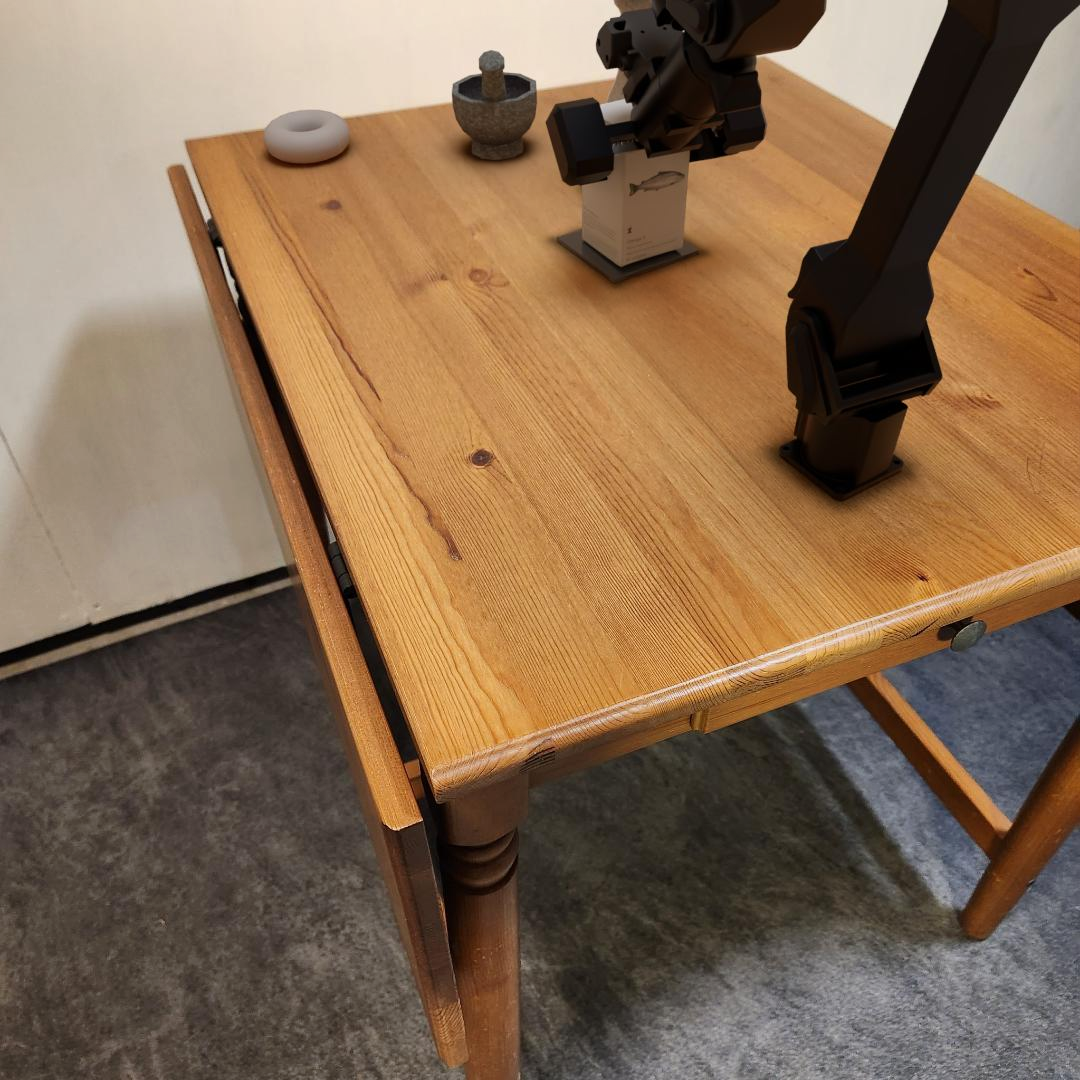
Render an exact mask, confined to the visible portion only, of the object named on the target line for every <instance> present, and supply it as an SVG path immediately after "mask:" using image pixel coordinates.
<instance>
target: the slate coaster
mask: <svg viewBox="0 0 1080 1080" xmlns="http://www.w3.org/2000/svg"><path fill="white" fill-rule="evenodd" d="M556 242H558V243H559V244H560V245H561V246H563V247H564V248H566V249H567V250H568V251H569V252H571V253H572V254H574V256H576V257H577V258H578V259H580V260H582V261H583V262H584V263H586V264H588V265H589V267H591V268H593V269H594V270H595V271H597V272H598V273H599V274H601V275H602V276H604V277H605V278H606V279H607V280H609V281H610V282H611V283H613V284H617V283H620V282H622V281H625V280H628V279H632V278H633V277H636V276H637V277H638V276H639V275H642V274H646V273H649V272H651V271H654V270H657V269H660V268H663V267H665V266H668V265H671V264H673V263H676V262H679V261H682V260H684V259H688V258H692V257H693V256H696V255H699V254H700V249H698V248H697V247H695V246H694V245H692V244H690V243H689V242H687V241H686V240H684V239H683V247H682V248H680V249H677V250H672V251H668V252H665V253H662V254H658V255H655V256H652V257H648V258H645V259H642V260H639V261H636V262H633V263H630V264H627V265H625V266H623V267H620V266H618V265H617V264H615V263H614V262H613V261H611V260H610V259H608V258H607V257H606V256H604V255H603V254H602V253H600V252H599V251H598V250H596V249H595V248H594V247H592V246H591V245H589V244H588V243H587V242H585V241H584V240H583V239H582V228H581V229H579V230H575V231H572V232H569V233H566V234H562V235H559V236H556Z"/></svg>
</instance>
